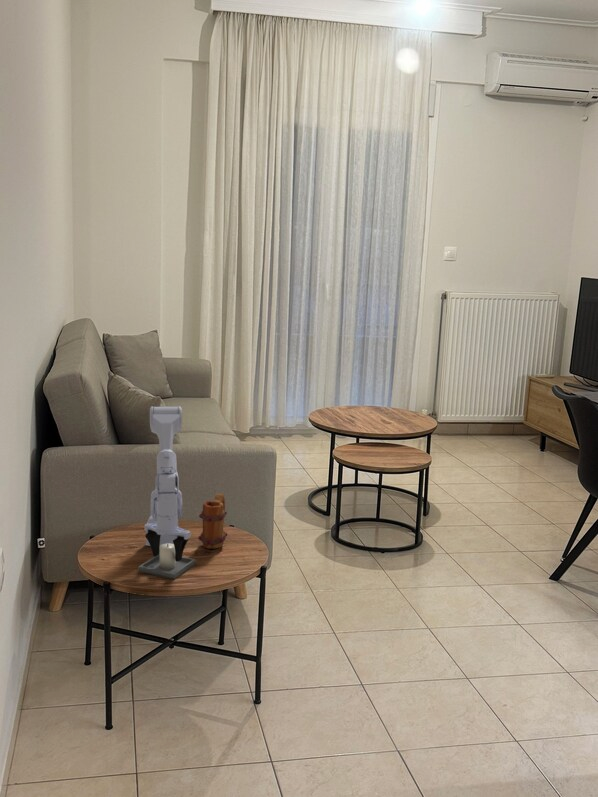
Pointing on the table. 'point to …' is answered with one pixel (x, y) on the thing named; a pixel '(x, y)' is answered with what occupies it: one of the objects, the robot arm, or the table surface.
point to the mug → (213, 523)
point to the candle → (167, 556)
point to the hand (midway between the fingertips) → (167, 557)
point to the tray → (154, 569)
